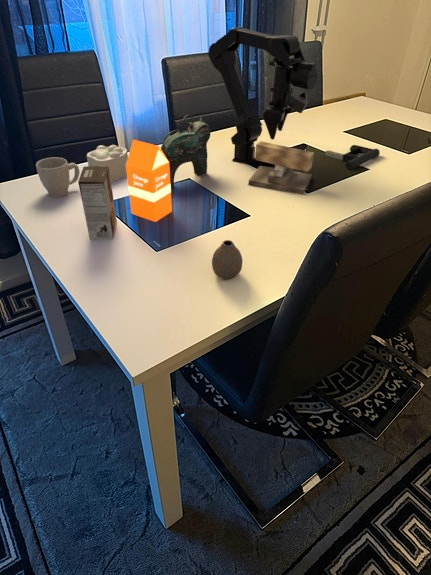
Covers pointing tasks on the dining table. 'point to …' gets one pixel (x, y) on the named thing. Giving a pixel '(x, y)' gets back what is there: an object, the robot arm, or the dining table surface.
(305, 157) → the oak beam
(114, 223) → the coffee box
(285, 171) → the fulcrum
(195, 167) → the dark green animal statue
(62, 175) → the mug
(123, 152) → the lumpy-topped squat cylinder
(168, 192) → the orange juice
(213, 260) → the vase
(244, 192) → the dining table surface
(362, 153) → the door handle
